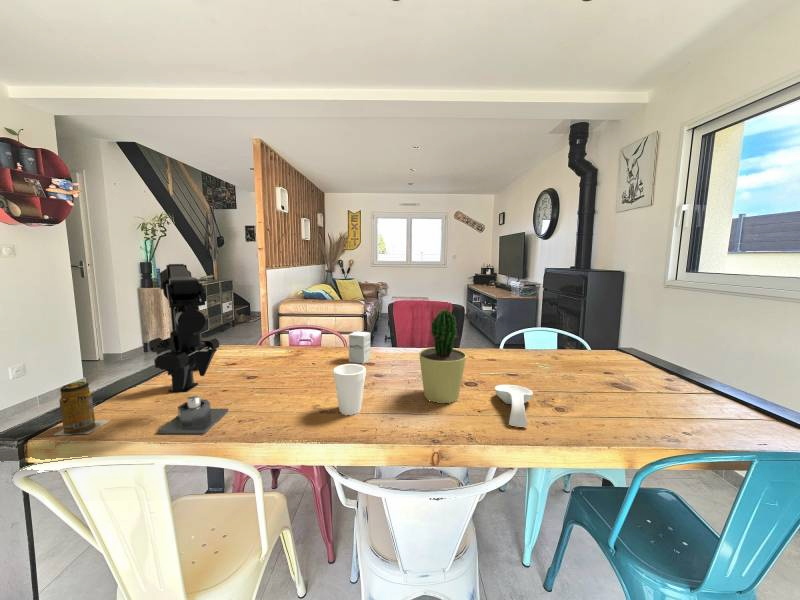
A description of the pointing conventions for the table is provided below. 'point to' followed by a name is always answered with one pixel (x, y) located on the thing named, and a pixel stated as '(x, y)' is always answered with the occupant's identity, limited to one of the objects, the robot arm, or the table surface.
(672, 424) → the table surface
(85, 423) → the condiment
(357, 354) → the supplement box
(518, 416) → the spoon rest
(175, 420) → the piston post
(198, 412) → the octagonal metal collar
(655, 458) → the table surface
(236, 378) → the table surface
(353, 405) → the foam cup
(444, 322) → the potted cactus
